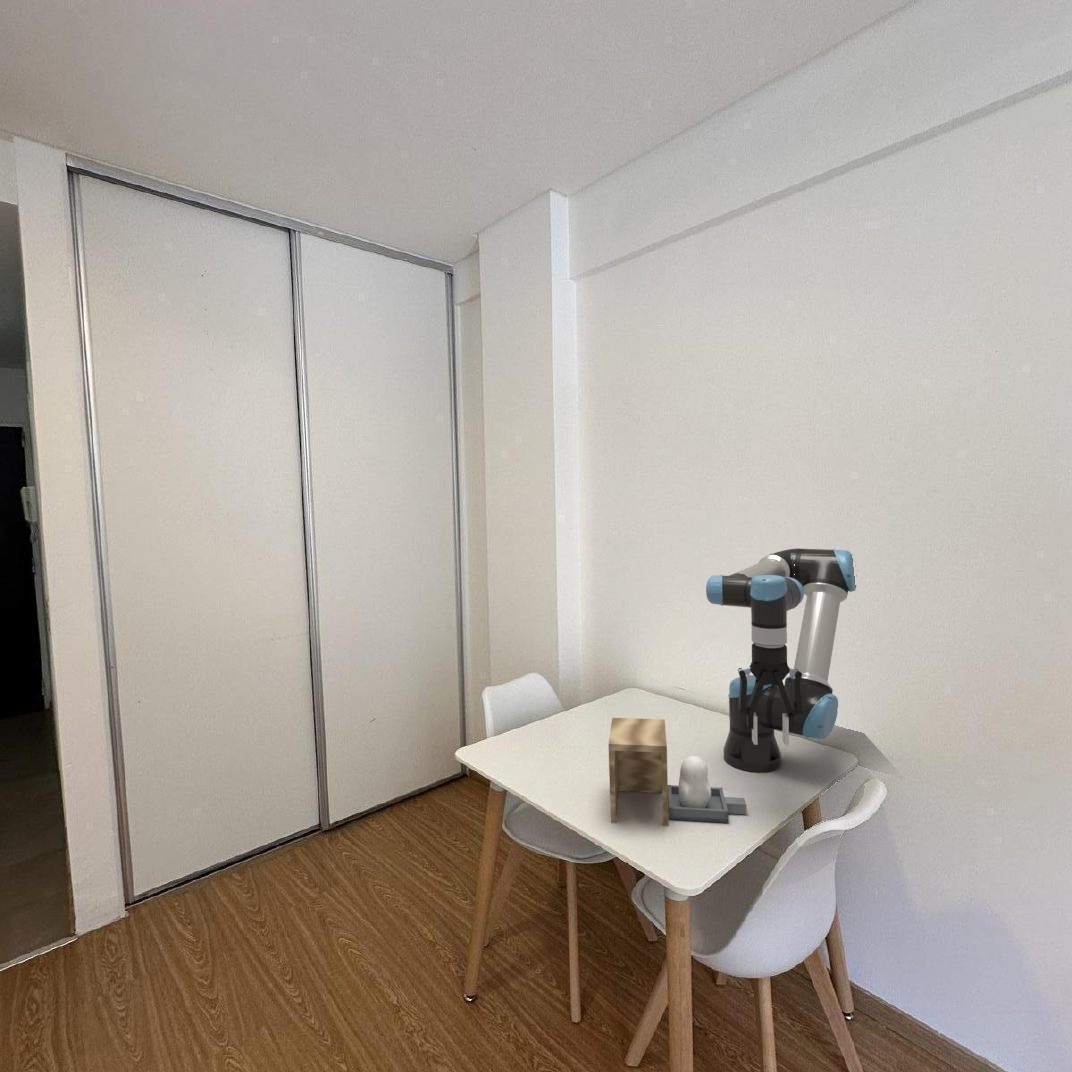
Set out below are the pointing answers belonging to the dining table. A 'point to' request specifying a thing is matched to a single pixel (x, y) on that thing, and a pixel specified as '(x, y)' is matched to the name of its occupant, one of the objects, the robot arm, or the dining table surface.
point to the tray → (711, 813)
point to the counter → (638, 760)
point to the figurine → (694, 783)
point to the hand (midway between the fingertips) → (770, 742)
